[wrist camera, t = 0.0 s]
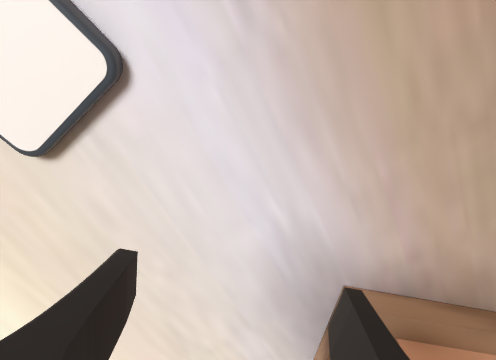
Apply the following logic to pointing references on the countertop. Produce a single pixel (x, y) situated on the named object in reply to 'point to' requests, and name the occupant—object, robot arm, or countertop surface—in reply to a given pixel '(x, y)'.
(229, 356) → the countertop surface
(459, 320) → the deck
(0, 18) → the phone case
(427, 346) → the tile
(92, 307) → the robot arm
